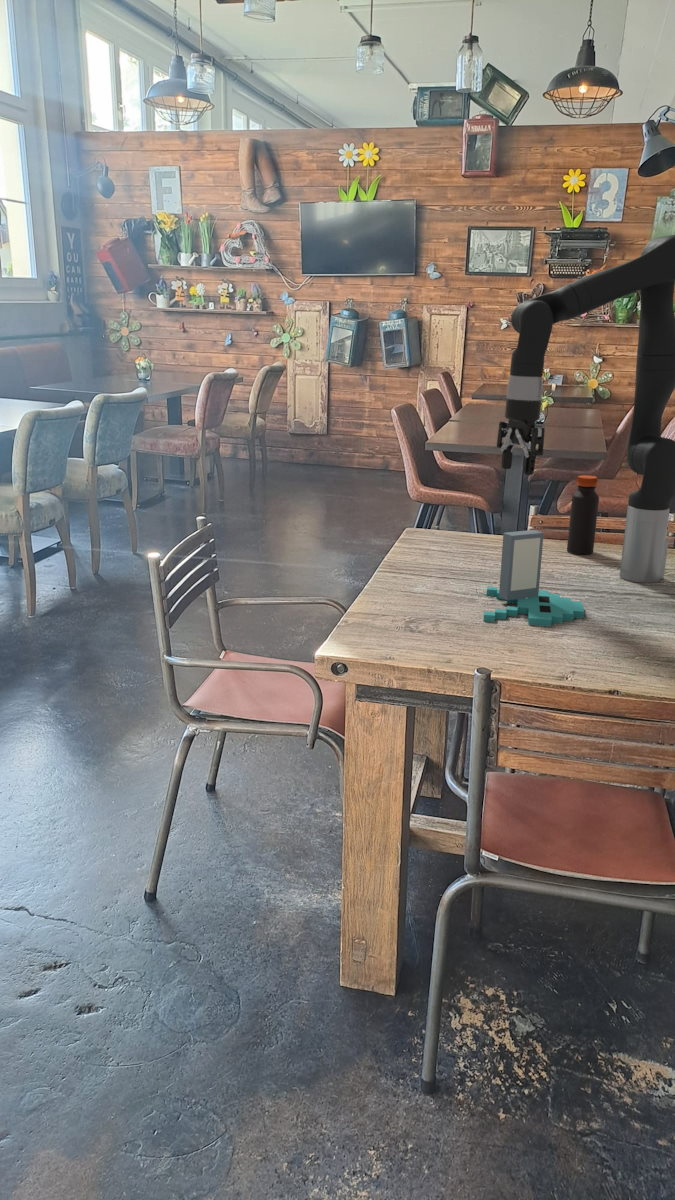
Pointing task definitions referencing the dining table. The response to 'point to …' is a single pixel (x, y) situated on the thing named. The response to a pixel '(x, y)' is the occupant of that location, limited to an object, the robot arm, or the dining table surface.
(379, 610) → the dining table surface
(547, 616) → the alien figure
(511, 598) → the board
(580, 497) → the bottle
